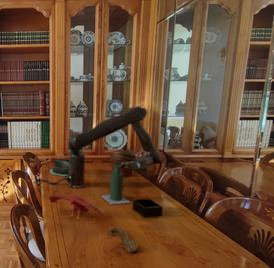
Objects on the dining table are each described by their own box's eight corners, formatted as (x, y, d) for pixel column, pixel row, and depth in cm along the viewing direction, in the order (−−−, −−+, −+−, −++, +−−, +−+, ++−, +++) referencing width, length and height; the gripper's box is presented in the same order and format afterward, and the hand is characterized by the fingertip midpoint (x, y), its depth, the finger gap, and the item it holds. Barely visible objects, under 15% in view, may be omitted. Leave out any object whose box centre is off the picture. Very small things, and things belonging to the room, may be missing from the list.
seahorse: (119, 229, 97) (119, 225, 96) (142, 252, 82) (142, 247, 82) (107, 231, 96) (107, 227, 95) (128, 255, 81) (127, 250, 81)
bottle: (113, 201, 122) (115, 168, 120) (107, 196, 128) (109, 165, 126) (124, 200, 123) (125, 167, 121) (117, 195, 129) (119, 164, 127)
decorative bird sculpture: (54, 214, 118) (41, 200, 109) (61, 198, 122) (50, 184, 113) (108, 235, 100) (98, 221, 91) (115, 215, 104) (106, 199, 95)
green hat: (79, 168, 180) (75, 177, 161) (58, 177, 187) (52, 186, 168) (70, 151, 180) (65, 157, 161) (49, 160, 187) (42, 168, 168)
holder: (144, 217, 106) (144, 208, 106) (132, 208, 115) (133, 199, 114) (161, 215, 108) (162, 206, 107) (148, 207, 117) (149, 198, 116)
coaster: (111, 204, 120) (111, 204, 119) (101, 196, 130) (101, 195, 130) (130, 202, 121) (131, 202, 121) (119, 194, 132) (119, 193, 132)
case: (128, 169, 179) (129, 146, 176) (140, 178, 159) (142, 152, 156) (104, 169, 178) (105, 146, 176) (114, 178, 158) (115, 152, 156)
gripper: (129, 155, 146) (115, 159, 135) (153, 159, 135) (140, 164, 125) (129, 166, 147) (115, 172, 136) (152, 172, 136) (139, 178, 126)
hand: (127, 168), depth 131 cm, fingers open, 8 cm apart
